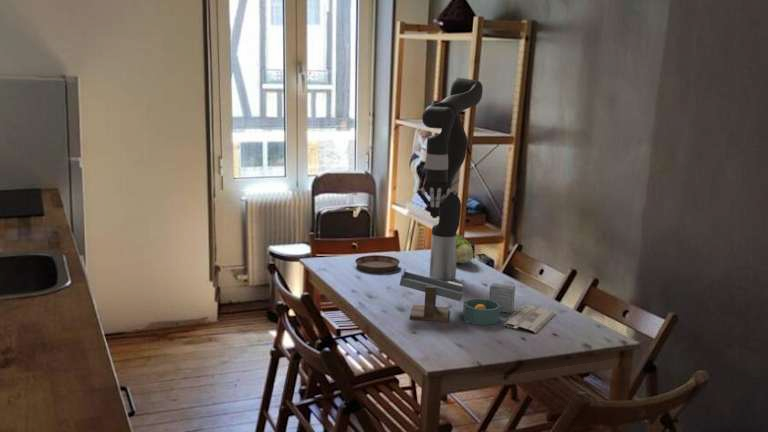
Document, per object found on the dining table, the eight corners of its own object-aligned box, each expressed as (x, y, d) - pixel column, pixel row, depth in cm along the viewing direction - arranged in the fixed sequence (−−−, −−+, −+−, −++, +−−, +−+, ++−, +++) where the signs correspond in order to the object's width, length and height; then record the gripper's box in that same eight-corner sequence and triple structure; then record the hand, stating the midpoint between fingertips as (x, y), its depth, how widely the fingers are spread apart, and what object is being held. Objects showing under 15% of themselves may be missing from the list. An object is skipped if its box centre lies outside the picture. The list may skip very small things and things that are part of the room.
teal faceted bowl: (478, 310, 236) (479, 296, 235) (506, 320, 227) (507, 305, 226) (455, 317, 229) (456, 302, 228) (482, 327, 220) (484, 312, 219)
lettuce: (455, 270, 282) (456, 242, 280) (433, 256, 301) (434, 230, 299) (480, 268, 286) (482, 241, 284) (457, 255, 305) (459, 229, 303)
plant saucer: (348, 271, 276) (348, 263, 275) (363, 260, 292) (363, 252, 292) (392, 276, 271) (392, 269, 270) (404, 265, 288) (404, 257, 287)
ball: (484, 318, 230) (483, 307, 232) (488, 314, 227) (488, 302, 228) (472, 317, 229) (471, 306, 231) (477, 313, 226) (476, 301, 228)
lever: (403, 276, 240) (406, 262, 239) (460, 291, 239) (464, 277, 238) (398, 290, 225) (401, 275, 224) (459, 306, 224) (463, 291, 223)
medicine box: (513, 310, 238) (515, 285, 236) (511, 314, 234) (513, 289, 232) (490, 306, 240) (492, 282, 239) (487, 310, 236) (489, 285, 235)
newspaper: (520, 308, 242) (521, 301, 241) (554, 319, 236) (556, 312, 235) (496, 327, 222) (497, 320, 222) (533, 340, 217) (535, 332, 216)
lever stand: (412, 307, 236) (414, 275, 234) (448, 310, 235) (450, 278, 233) (409, 319, 225) (411, 285, 223) (447, 322, 224) (449, 288, 222)
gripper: (416, 167, 234) (414, 219, 238) (456, 169, 233) (453, 221, 237) (417, 164, 242) (415, 214, 245) (456, 166, 240) (454, 216, 244)
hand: (434, 217), depth 241 cm, fingers closed
